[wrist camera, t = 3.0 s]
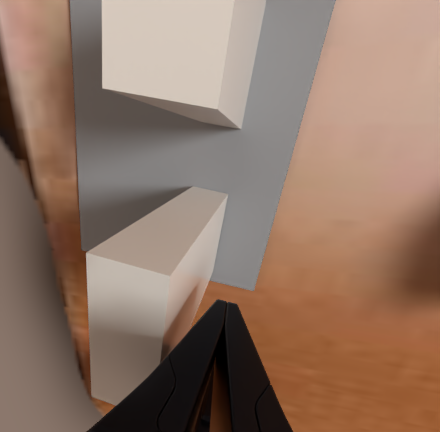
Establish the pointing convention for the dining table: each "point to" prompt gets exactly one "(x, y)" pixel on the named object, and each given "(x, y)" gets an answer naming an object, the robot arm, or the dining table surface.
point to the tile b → (183, 54)
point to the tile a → (149, 289)
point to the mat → (195, 139)
